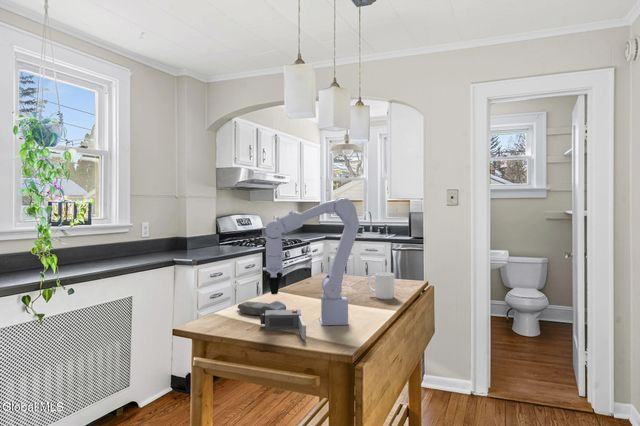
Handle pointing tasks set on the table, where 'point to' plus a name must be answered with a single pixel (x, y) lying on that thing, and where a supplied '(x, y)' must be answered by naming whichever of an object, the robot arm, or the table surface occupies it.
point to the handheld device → (260, 307)
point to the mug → (382, 285)
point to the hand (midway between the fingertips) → (274, 294)
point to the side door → (302, 328)
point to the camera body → (280, 319)
